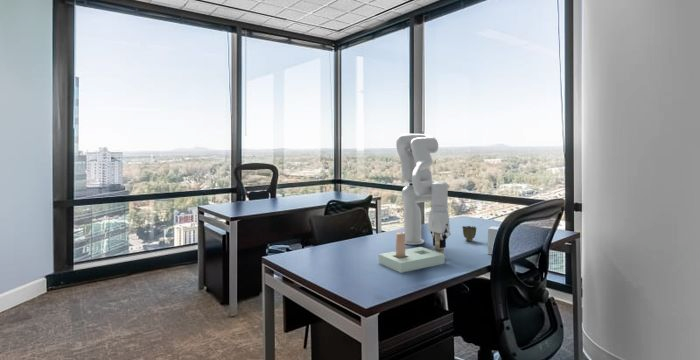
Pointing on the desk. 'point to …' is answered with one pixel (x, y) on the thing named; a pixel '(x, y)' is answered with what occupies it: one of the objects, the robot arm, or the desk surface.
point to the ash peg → (438, 243)
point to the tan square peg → (400, 245)
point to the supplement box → (491, 237)
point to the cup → (469, 233)
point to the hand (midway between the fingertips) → (439, 246)
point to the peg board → (412, 259)
